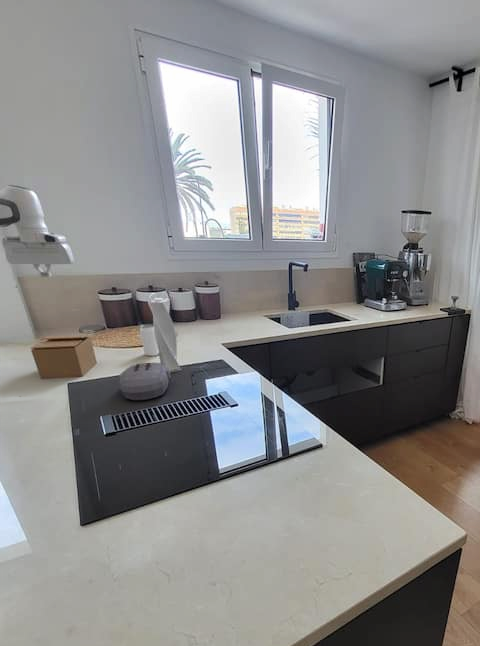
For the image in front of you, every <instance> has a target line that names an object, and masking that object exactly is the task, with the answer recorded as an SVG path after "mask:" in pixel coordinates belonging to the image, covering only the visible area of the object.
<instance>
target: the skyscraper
mask: <svg viewBox="0 0 480 646" xmlns="http://www.w3.org/2000/svg"><path fill="white" fill-rule="evenodd" d="M153 295H154V298H153V300H151V301H150V299H151V297H152V296H153ZM147 304H148V307H149V309H150V312H151V314H152V324H153V326H154V334H155V339H156V343H157V347H158V350H159V352H158V353H159V355H158V356H159V361H160V362H159V363H161V364H162V365H164V366H165V367H167V368H168V370H169V372H170V374H173V373H178V372H182V371H183V369H182V368H181V367H180V366H181V365H179V363H178V361H177V357H178V355H177V354H178V344H177V334H176V329H175V325H174V323H173V319H172V317H171V315H170V308H171V307H170V306H171V299H170V297H168V298H165V299H164V298H163V297H157V293H156V292H152V293H151V294H150V295H149V296H148V298H147Z"/></svg>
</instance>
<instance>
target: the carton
mask: <svg viewBox="0 0 480 646" xmlns="http://www.w3.org/2000/svg"><path fill="white" fill-rule="evenodd" d="M30 349H31V350H30V351H31V354H32V357H33V360H34V363H35V366H36V369H37V372H38V375H39V378H40V380H44V379H61V378H63V379H64V378H78V377H79V378H80V377H84V376H85V375H87V373H88V372H89V371H91V369H92V368H93V367H94V366H96V364H97V363H98V362H97V361H98V360H97V358H96V354H95V350H94V346H93V342H92V339H91V336H87V337H84V338H73V339H46V340H45V341H39V342H38V343H36V344H35V345H34V344H33V346H30Z"/></svg>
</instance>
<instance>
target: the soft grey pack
mask: <svg viewBox="0 0 480 646" xmlns="http://www.w3.org/2000/svg"><path fill="white" fill-rule="evenodd" d="M171 377H172V376H171V373H170V372H169V370H168V368H167V367H165V366H164V365H162V364H161V363H160V362H141V363H135V364H132V365H130V366H128V367H127V368H126V369H124V370H123V371H122V372H121V373H120V374H119V376H118V379H119V388H120V391H121V393H122V395H123V397H124V398H125V399H126V400H131V401H145V400H146V401H147V400H150V399H155V398H157V397H160V396H162V395H164V394H165V392H166V390H167V389H168V387H169V383H170V382H169V380H170V379H171Z"/></svg>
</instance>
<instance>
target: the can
mask: <svg viewBox="0 0 480 646" xmlns="http://www.w3.org/2000/svg"><path fill="white" fill-rule="evenodd" d="M139 333H140V338H141V343H142V348H143V354H144V355H145V356H147V357H156V356H159V353H158V352H159V350H158V347H157V343H156V339H155V334H154V326H153V323H147V324H141V325H140V329H139Z"/></svg>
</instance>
